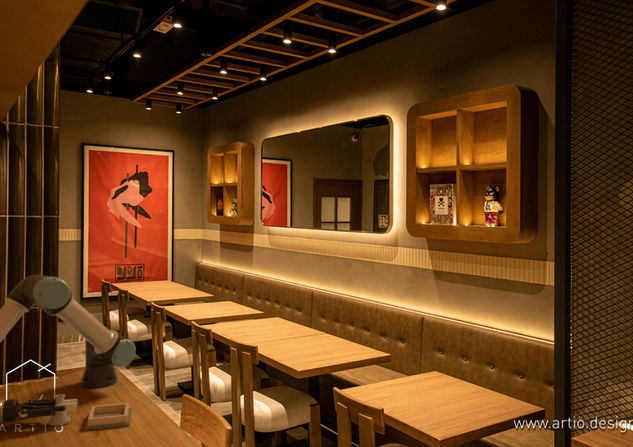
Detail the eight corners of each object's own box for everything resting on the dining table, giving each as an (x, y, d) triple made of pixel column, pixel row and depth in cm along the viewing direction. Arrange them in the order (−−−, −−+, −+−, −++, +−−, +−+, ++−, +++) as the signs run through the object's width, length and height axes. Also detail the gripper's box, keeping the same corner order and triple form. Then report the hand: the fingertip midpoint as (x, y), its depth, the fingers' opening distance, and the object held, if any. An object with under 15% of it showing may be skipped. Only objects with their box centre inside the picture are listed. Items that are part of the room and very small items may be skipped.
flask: (61, 427, 187) (62, 399, 186) (44, 425, 188) (44, 398, 188) (75, 419, 194) (75, 393, 193) (57, 418, 195) (57, 391, 195)
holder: (89, 414, 199) (89, 405, 199) (131, 410, 203) (131, 401, 203) (84, 430, 185) (84, 420, 184) (129, 425, 189) (129, 416, 189)
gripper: (10, 412, 193) (79, 406, 200) (-3, 430, 178) (72, 423, 185) (10, 392, 193) (79, 387, 200) (-3, 408, 178) (72, 402, 184)
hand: (76, 404), depth 192 cm, fingers closed on flask, 3 cm apart
